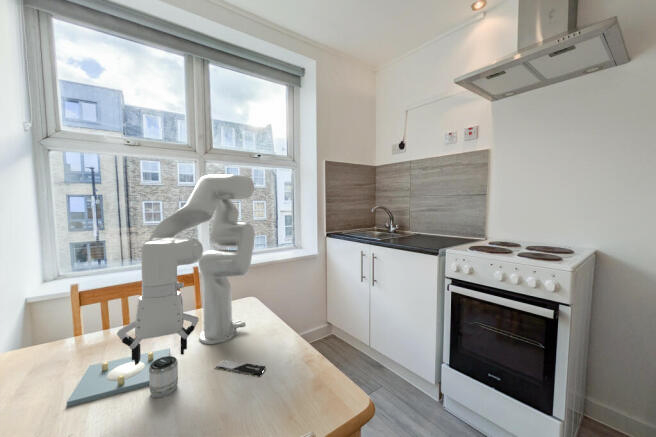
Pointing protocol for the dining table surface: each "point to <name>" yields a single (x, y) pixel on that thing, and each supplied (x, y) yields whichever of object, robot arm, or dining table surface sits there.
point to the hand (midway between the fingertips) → (160, 356)
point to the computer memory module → (241, 368)
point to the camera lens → (163, 376)
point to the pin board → (114, 377)
